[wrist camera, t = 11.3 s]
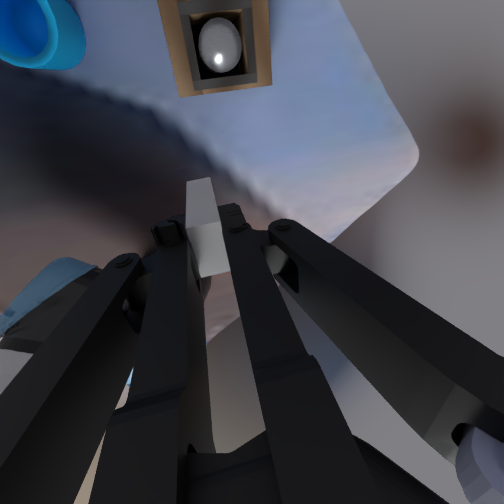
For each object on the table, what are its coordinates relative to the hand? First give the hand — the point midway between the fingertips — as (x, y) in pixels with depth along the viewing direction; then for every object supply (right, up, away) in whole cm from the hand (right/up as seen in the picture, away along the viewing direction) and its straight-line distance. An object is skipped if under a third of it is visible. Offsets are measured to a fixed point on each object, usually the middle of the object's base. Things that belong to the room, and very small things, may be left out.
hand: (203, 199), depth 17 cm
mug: (-21, +26, +14) cm, 36 cm away
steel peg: (-2, +25, +19) cm, 31 cm away
